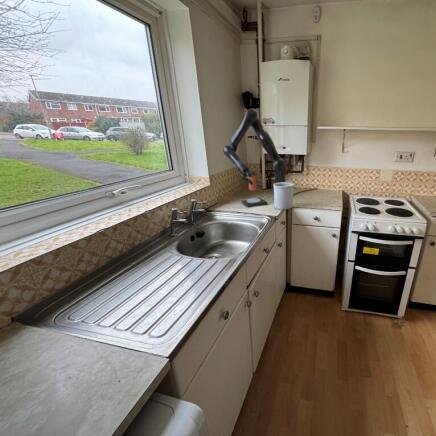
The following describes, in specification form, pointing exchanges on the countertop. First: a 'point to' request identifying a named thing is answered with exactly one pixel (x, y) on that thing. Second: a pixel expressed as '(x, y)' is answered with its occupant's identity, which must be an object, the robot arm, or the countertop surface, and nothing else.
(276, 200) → the utensil holder
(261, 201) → the kitchen scale
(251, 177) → the cup
